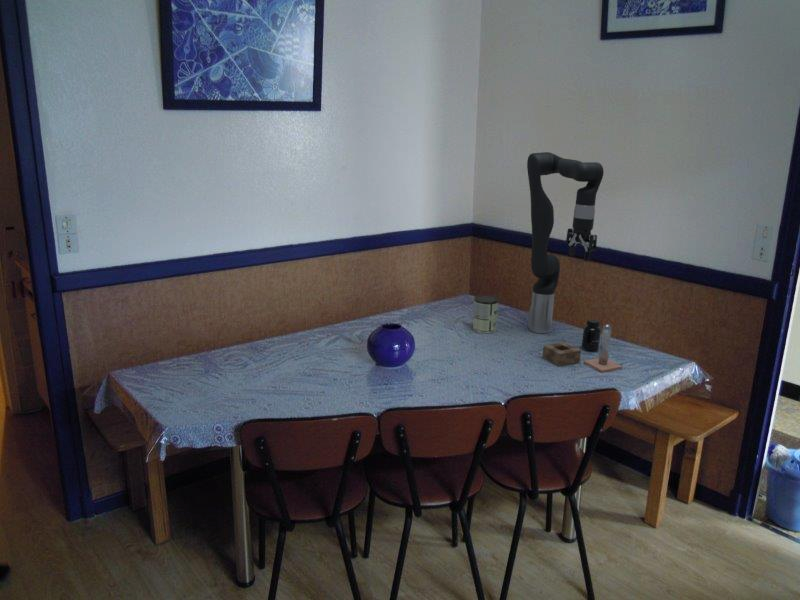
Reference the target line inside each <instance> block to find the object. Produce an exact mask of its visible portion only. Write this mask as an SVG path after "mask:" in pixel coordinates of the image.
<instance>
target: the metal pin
mask: <svg viewBox="0 0 800 600" xmlns="http://www.w3.org/2000/svg"><path fill="white" fill-rule="evenodd" d="M611 336H612V326H611V325H610V324H609V323H606V324H604V325H602V329H601V336H600V345H599V354H598V356H599V357H598V358H599V362H598V363H599V364H600V365H607V362H608V359H609V352H610V345H611V344H610V343H611Z"/></svg>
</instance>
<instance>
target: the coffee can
mask: <svg viewBox="0 0 800 600" xmlns="http://www.w3.org/2000/svg"><path fill="white" fill-rule="evenodd" d="M473 297H474V299H473V300H474V303H473V304H474V305H473V320H472V323H473V324H472V330H473V331H474V332H477V333H480V334H492V333H495V332H496V331H497V326H498V325H497V323H498V313H499V312H498V310H499V309H498V308H499V301H500V298H499V297H497V296H495V295H489V294H479V295H475V296H473Z"/></svg>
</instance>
